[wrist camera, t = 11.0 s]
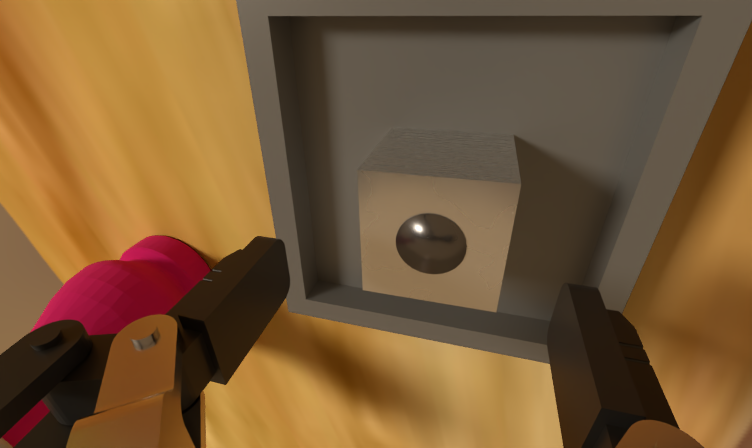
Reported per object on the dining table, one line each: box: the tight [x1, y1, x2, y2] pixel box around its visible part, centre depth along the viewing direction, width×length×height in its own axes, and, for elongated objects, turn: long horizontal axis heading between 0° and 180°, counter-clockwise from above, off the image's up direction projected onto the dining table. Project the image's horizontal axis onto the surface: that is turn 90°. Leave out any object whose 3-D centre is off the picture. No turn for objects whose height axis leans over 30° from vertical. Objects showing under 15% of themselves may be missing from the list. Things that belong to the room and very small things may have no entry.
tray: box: [236, 0, 752, 364], centre depth 16 cm, size 16×16×2 cm
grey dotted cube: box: [357, 128, 521, 312], centre depth 15 cm, size 5×5×5 cm
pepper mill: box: [0, 235, 211, 448], centre depth 18 cm, size 7×7×20 cm
